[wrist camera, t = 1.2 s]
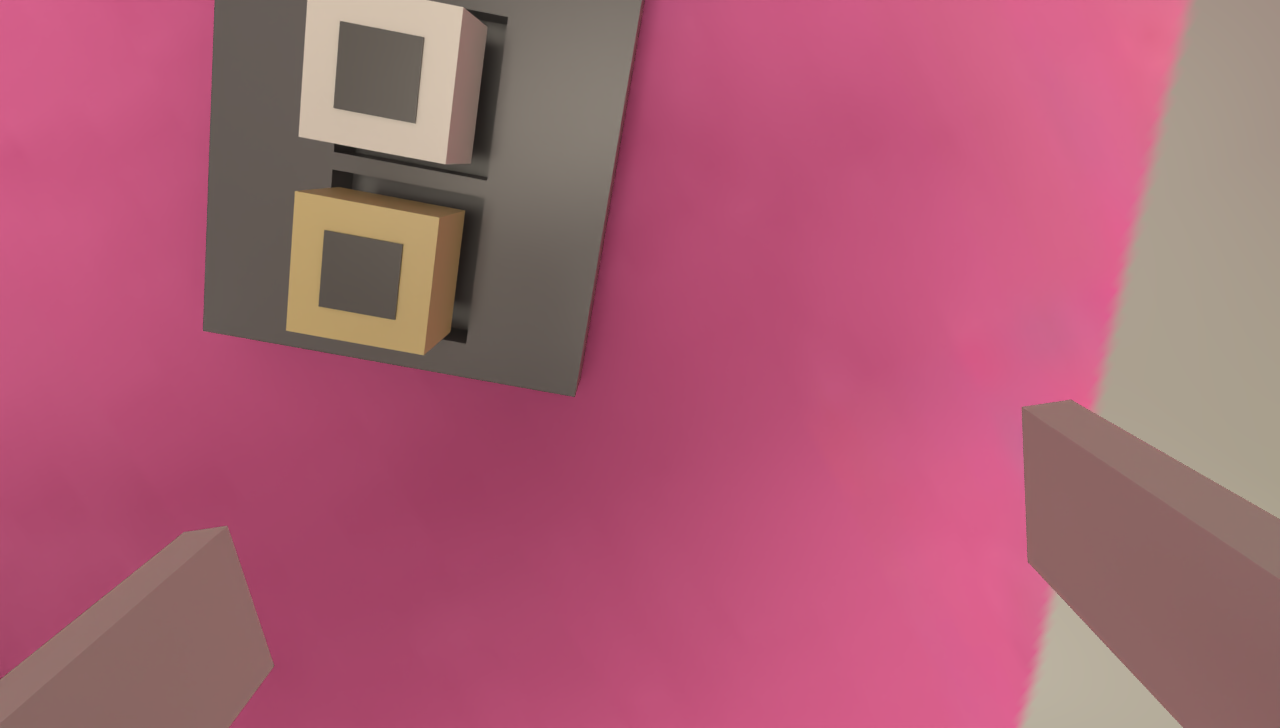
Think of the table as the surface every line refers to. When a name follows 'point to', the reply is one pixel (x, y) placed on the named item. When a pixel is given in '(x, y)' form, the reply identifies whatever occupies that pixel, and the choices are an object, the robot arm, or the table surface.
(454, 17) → the key
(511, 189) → the keypad
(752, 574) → the table surface
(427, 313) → the key
